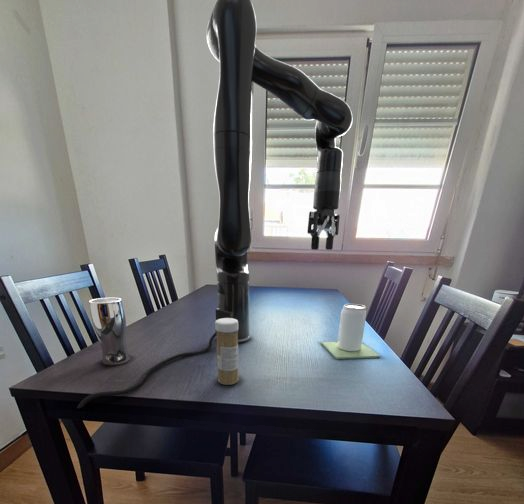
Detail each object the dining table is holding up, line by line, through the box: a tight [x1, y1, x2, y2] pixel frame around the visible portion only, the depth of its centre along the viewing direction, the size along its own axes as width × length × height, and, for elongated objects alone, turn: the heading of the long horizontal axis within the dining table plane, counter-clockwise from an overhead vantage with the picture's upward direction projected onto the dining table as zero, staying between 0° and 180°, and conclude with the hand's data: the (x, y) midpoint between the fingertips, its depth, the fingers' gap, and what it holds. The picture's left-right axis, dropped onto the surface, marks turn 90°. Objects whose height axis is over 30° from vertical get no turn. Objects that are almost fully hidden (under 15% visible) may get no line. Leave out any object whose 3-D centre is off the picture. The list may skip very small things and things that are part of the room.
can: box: [337, 303, 367, 352], centre depth 77 cm, size 6×6×12 cm
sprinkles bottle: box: [214, 318, 240, 386], centre depth 58 cm, size 5×5×13 cm
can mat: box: [321, 341, 381, 360], centre depth 79 cm, size 12×12×1 cm
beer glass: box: [88, 297, 131, 366], centre depth 67 cm, size 7×7×15 cm
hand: (322, 249), depth 89 cm, fingers open, 8 cm apart
